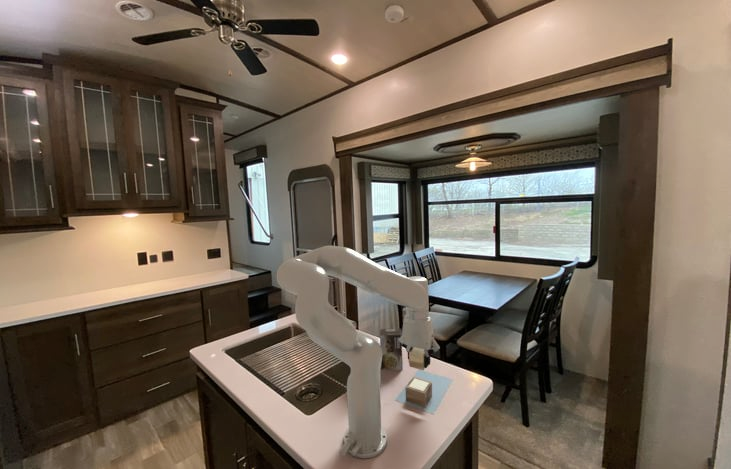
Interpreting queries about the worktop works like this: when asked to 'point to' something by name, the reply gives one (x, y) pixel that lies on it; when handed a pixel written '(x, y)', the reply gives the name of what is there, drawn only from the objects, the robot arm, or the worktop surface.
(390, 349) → the coffee box
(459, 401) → the worktop surface
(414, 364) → the maple block
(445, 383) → the board
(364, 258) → the robot arm
